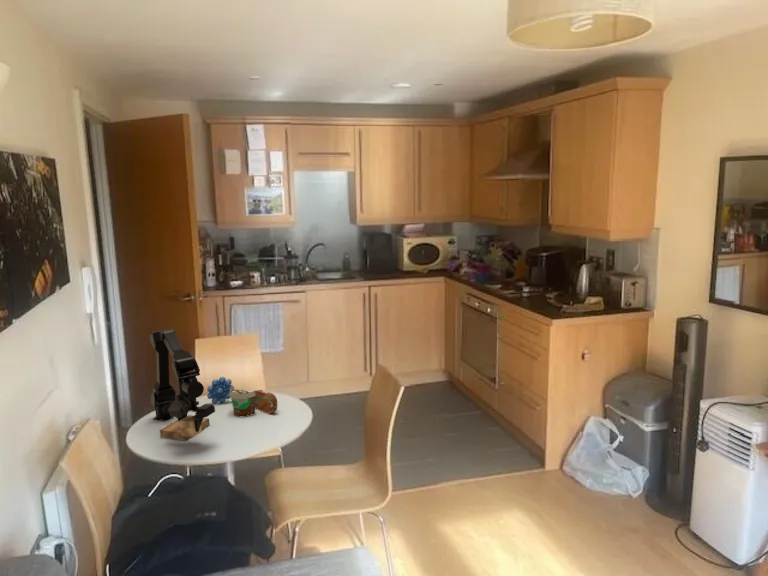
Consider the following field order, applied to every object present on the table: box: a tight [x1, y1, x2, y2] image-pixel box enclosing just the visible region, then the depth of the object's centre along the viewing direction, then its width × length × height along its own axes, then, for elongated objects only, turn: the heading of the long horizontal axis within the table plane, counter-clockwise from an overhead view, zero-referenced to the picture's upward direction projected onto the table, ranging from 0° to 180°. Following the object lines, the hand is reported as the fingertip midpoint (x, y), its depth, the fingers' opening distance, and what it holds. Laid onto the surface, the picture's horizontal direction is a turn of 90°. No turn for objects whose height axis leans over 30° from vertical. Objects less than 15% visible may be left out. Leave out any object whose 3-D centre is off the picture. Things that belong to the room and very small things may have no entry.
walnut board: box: [159, 417, 211, 442], centre depth 223 cm, size 12×14×3 cm
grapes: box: [206, 376, 235, 405], centre depth 252 cm, size 12×7×12 cm, turn 97°
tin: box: [254, 389, 278, 415], centre depth 241 cm, size 15×3×8 cm, turn 48°
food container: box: [229, 387, 256, 417], centre depth 238 cm, size 12×6×10 cm, turn 62°
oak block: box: [180, 414, 203, 438], centre depth 211 cm, size 5×5×6 cm
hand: (191, 431), depth 211 cm, fingers closed on oak block, 5 cm apart
